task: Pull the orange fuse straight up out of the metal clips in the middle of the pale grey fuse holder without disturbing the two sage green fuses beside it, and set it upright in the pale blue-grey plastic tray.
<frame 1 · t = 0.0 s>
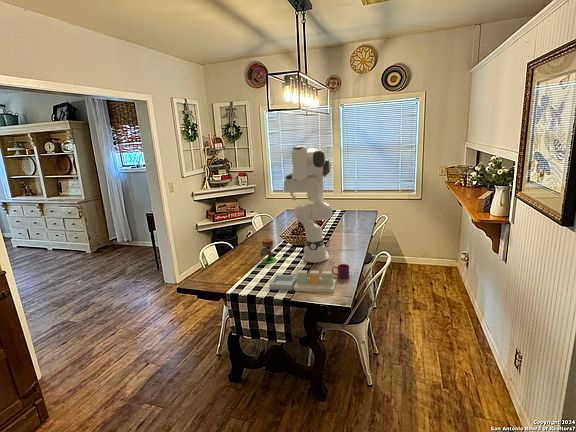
hand: (302, 199, 183), 48 cm above the table, tool pointing down, fingers open, 8 cm apart
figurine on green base: (269, 260, 227), on the table
mug: (340, 276, 193), on the table
green fuse 1: (302, 282, 184), point 2 cm above the table, touching fuse holder
orange fuse: (315, 283, 182), point 2 cm above the table, touching fuse holder
fuse holder: (315, 286, 182), on the table
tray: (283, 285, 187), on the table
green fuse 2: (327, 284, 180), point 2 cm above the table, touching fuse holder
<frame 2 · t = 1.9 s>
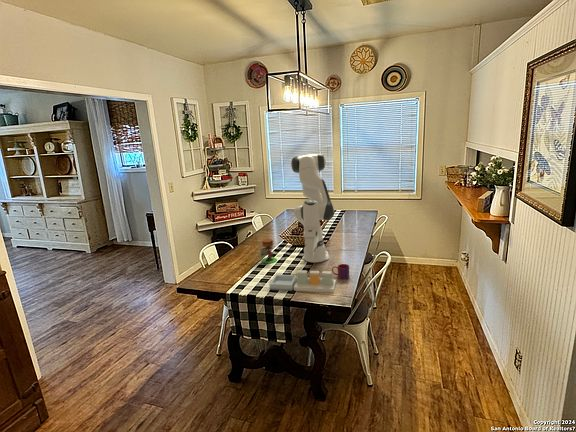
hand: (313, 254, 178), 20 cm above the table, tool pointing down, fingers open, 8 cm apart
nothing on the table moved.
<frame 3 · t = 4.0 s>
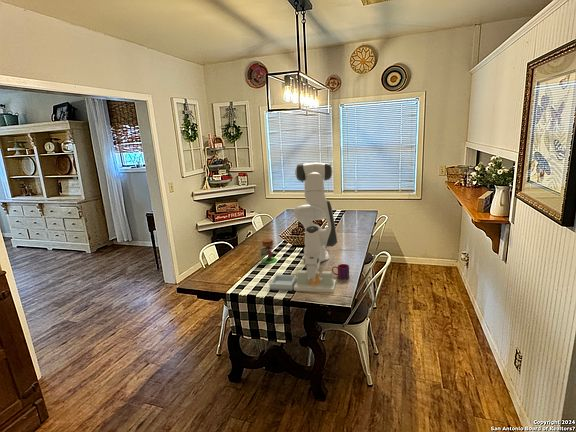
hand: (314, 279, 181), 5 cm above the table, tool pointing down, fingers closed on orange fuse, 3 cm apart
orange fuse: (315, 283, 182), point 2 cm above the table, touching fuse holder, gripper
everything else where it was.
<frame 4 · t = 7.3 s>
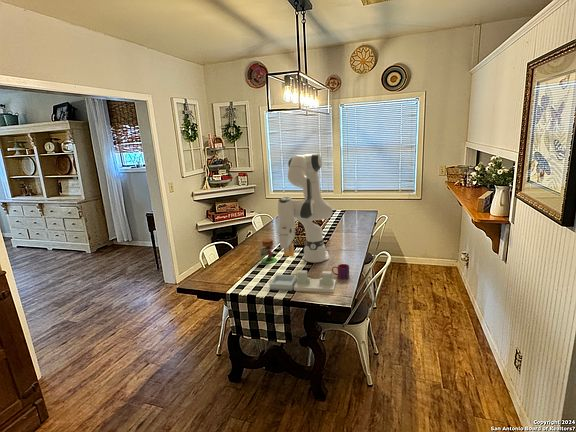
hand: (288, 250, 181), 21 cm above the table, tool pointing down, fingers closed on orange fuse, 3 cm apart
orange fuse: (289, 255, 181), point 19 cm above the table, touching gripper
everything else where it was.
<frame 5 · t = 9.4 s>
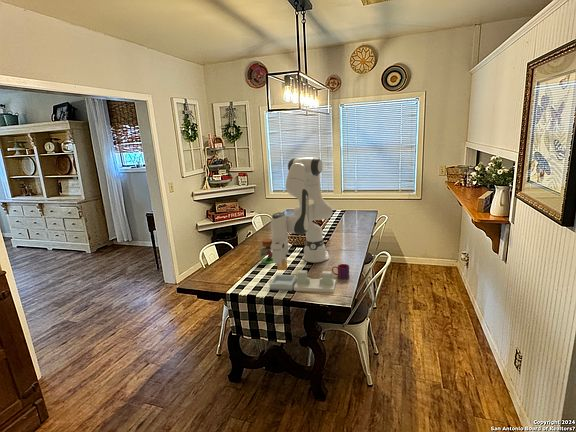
hand: (282, 265, 184), 13 cm above the table, tool pointing down, fingers closed on orange fuse, 3 cm apart
orange fuse: (282, 269, 184), point 10 cm above the table, touching gripper
everything else where it was.
when the fingers open (5 cm above the table, at t = 11.0 s): orange fuse drops 1 cm, resting on tray.
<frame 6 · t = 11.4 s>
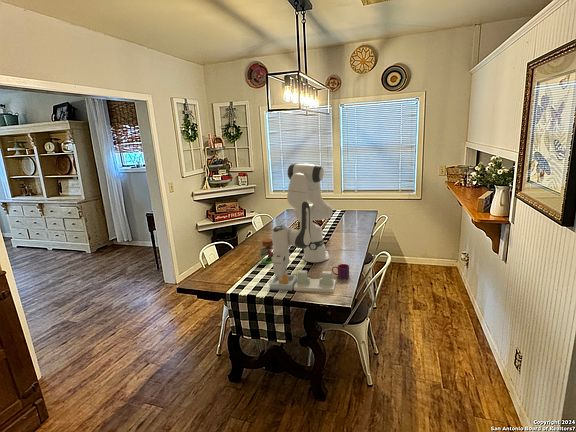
hand: (283, 276, 186), 5 cm above the table, tool pointing down, fingers open, 7 cm apart
orange fuse: (283, 283, 187), point 1 cm above the table, touching tray
everything else where it was.
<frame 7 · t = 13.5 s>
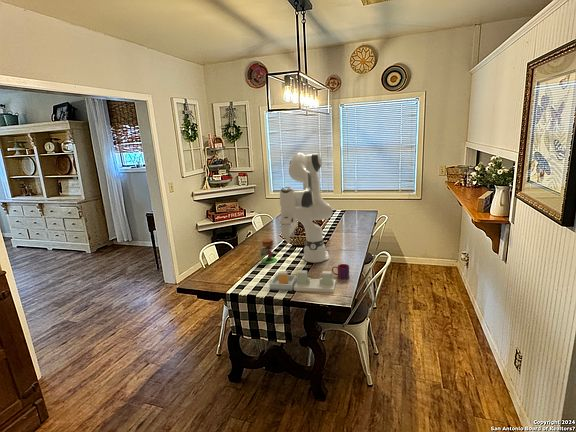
hand: (290, 239, 185), 26 cm above the table, tool pointing down, fingers open, 8 cm apart
nothing on the table moved.
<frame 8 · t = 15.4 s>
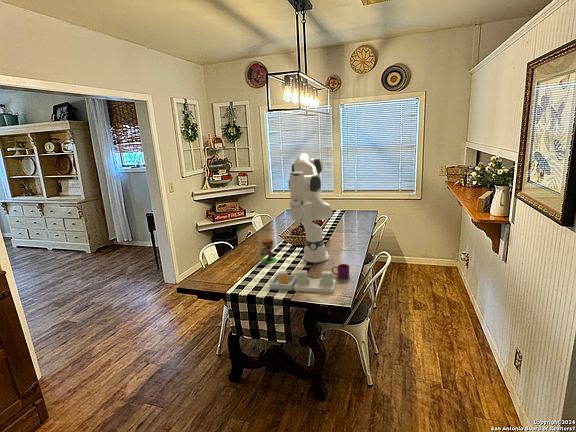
hand: (299, 223, 186), 34 cm above the table, tool pointing down, fingers open, 8 cm apart
nothing on the table moved.
at the end: orange fuse inside the target area on the tray (0.1 cm from its centre), point 1.0 cm above the tray's base; green fuse 2 moved 0.1 cm from its start; green fuse 1 moved 0.1 cm from its start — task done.
